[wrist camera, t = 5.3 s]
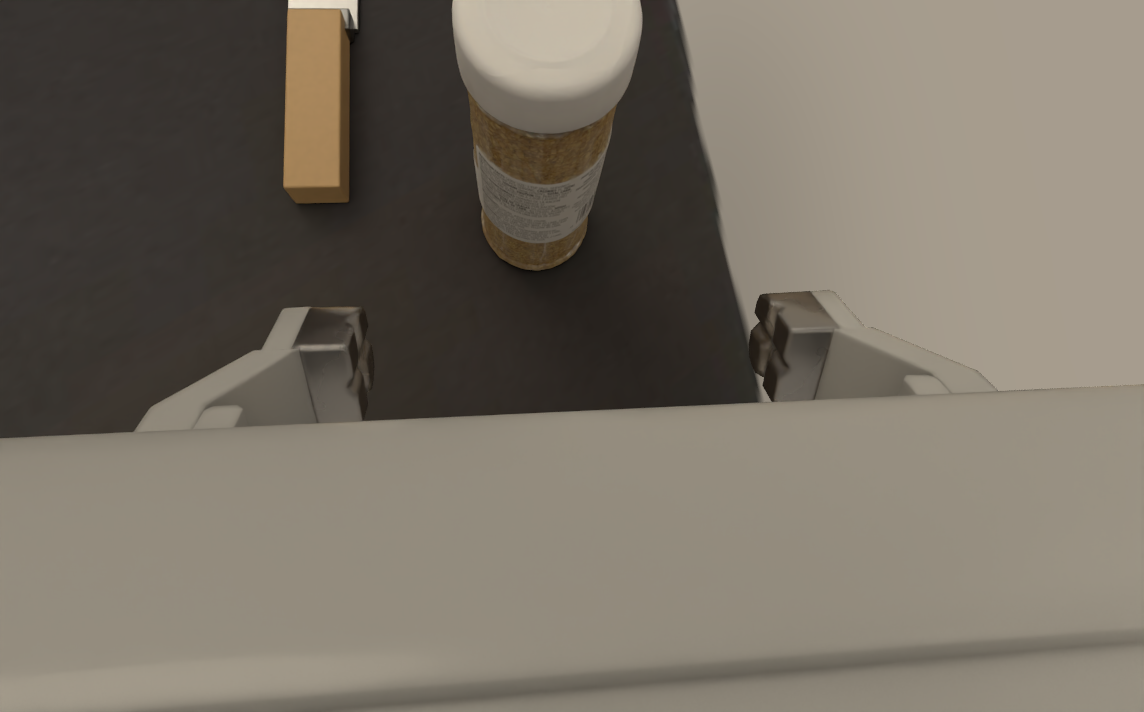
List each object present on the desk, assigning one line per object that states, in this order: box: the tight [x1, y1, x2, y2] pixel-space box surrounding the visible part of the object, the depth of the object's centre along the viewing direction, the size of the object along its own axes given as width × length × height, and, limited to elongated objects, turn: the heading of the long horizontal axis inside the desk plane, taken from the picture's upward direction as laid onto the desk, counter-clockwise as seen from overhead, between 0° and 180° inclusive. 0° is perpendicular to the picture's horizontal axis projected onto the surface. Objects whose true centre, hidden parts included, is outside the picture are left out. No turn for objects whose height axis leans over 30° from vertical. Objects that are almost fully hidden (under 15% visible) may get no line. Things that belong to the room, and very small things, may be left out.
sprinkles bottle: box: [452, 0, 642, 271], centre depth 22 cm, size 5×5×13 cm
